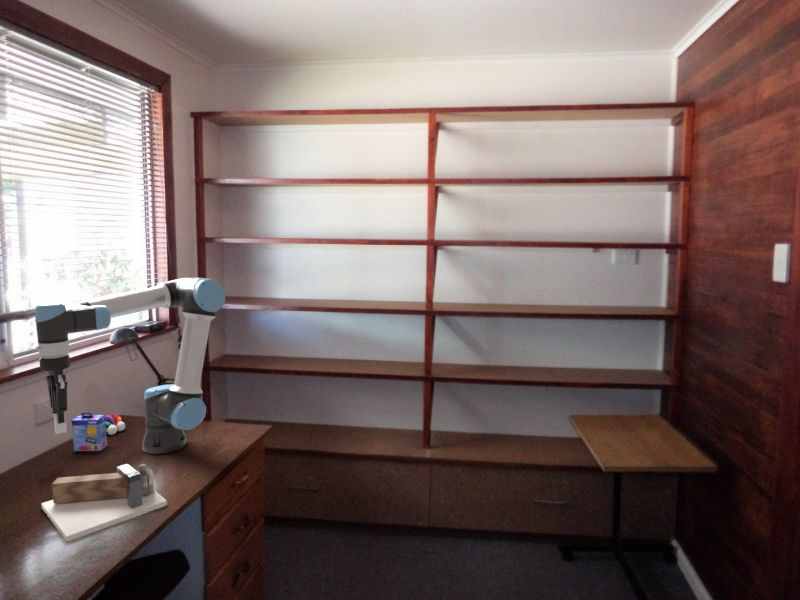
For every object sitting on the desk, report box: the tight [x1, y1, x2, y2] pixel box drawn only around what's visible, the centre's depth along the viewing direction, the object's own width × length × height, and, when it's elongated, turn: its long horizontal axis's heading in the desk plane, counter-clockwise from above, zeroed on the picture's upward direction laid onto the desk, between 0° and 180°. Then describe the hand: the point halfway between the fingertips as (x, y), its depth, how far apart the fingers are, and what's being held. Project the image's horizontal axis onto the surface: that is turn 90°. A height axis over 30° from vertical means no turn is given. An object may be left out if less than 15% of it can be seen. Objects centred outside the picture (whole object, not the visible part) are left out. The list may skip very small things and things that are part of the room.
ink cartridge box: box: [71, 411, 108, 452], centre depth 199 cm, size 10×6×14 cm, turn 95°
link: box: [51, 463, 155, 503], centre depth 159 cm, size 27×5×8 cm, turn 101°
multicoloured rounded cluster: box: [105, 413, 126, 436], centre depth 216 cm, size 8×10×7 cm
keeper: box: [116, 463, 142, 509], centre depth 157 cm, size 3×10×11 cm, turn 46°
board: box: [40, 489, 168, 543], centre depth 157 cm, size 26×25×2 cm
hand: (61, 432), depth 160 cm, fingers closed
